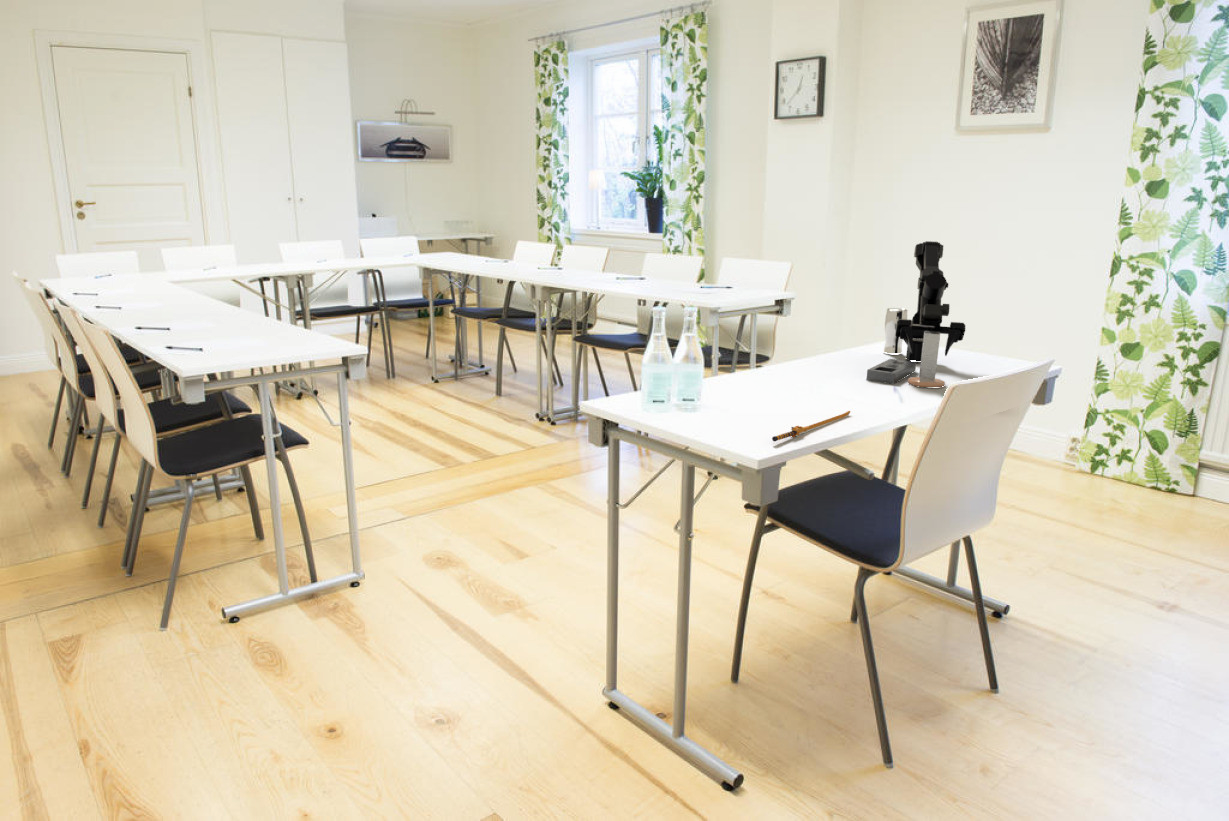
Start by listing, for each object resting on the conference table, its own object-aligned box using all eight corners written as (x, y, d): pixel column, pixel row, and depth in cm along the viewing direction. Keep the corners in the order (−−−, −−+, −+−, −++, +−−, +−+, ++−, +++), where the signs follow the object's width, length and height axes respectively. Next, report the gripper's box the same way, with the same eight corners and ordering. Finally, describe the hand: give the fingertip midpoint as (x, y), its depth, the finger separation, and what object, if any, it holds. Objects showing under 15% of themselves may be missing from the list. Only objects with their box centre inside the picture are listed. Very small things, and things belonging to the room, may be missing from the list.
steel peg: (918, 378, 248) (924, 331, 244) (933, 379, 247) (939, 332, 243) (919, 381, 244) (925, 333, 241) (934, 382, 243) (940, 334, 240)
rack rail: (889, 368, 266) (890, 358, 266) (915, 371, 262) (916, 361, 261) (866, 379, 250) (867, 369, 249) (893, 383, 246) (894, 373, 245)
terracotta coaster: (935, 380, 251) (936, 377, 251) (950, 388, 242) (951, 385, 241) (902, 380, 251) (902, 376, 250) (916, 388, 241) (916, 384, 241)
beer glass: (900, 352, 292) (905, 308, 288) (905, 356, 285) (910, 311, 281) (879, 351, 292) (884, 307, 289) (884, 355, 286) (888, 310, 282)
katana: (851, 420, 212) (852, 410, 212) (776, 445, 187) (777, 433, 186) (846, 419, 213) (847, 408, 212) (771, 443, 188) (772, 431, 187)
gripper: (900, 291, 248) (897, 335, 241) (969, 294, 244) (968, 340, 236) (896, 314, 258) (893, 357, 251) (962, 317, 253) (961, 362, 246)
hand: (929, 353), depth 246 cm, fingers open, 9 cm apart
